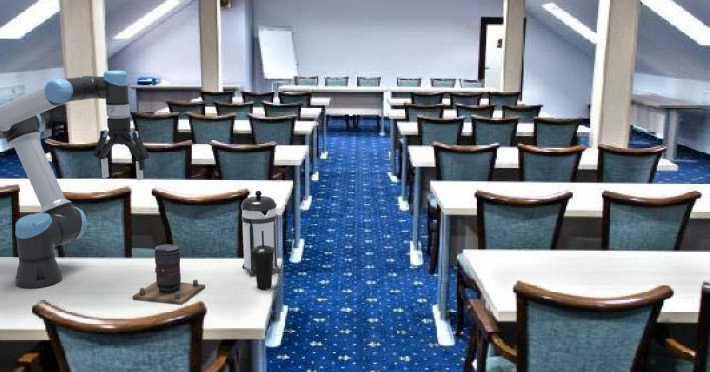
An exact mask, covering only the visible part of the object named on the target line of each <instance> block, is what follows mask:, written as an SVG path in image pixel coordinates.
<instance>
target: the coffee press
mask: <svg viewBox="0 0 710 372" xmlns="http://www.w3.org/2000/svg"><path fill="white" fill-rule="evenodd" d="M254 195H255V196H250V197H247V198H245V199H243V201H242V203H241V204H240V209H241V212H242V214H241V221H242V239H243V240H242V244H243V245H242V246H243V262H244V263H243V264H242V266H241V267H242V269H243V270H245V269H247V270H250V272H249V276H250V277H256V273H255V266H254V258H253V252H252V249H253V248H255V247H257V246H260V245H262V231H264V245H267V246H270V247H273V248H274V249H275V250H274V255H273V272H274V273H276V274H278V273H280V272H281V268H280V267H279V266H278V246H277V245H278V244H277V243H278V242H277V239H278V238H277V211H276V209H277V206H278V205H277V203H276V201H275V199H274V198H272V197H270V196H267V195H266V196H265V195H262V192H261V191H260V190H256V191H255V193H254Z"/></svg>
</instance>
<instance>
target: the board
mask: <svg viewBox="0 0 710 372" xmlns="http://www.w3.org/2000/svg"><path fill="white" fill-rule="evenodd" d="M205 289H206V284H203V283H202V284H200V283H199V282H198V279H193V280H192V282H181V283H180V289H179V290H178V291H177V292H174V293H161V292H159V288H158V286H157V281H155V282H152V283H151V284H150V285H148V286H146V287H140V288H139V291H138V292H136V293H135V294H133V295H132V300H133V301H134V300H135V301H142V302H152V303H163V304H171V305H183V304H185V303H186V302H187V301H189V300H190V299H192V298H194V297H195V296H196V295H198V294H199V293H201V292H202V291H203V290H205Z"/></svg>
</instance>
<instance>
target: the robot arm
mask: <svg viewBox="0 0 710 372" xmlns="http://www.w3.org/2000/svg"><path fill="white" fill-rule="evenodd" d="M91 99H94V100H95V99H96V100H97V99H101V100H102V99H103V100H104V101H105V113H106V116H107V117H108V118H106V125H107V126H106V127H107V129H108V130H106V129H103V130H100V131H99V139H98V142H97V144H96V145H95V146H96V147H95V150H94V151H93V157H94V158H97V159H98V160H99V164H98V165H99V168H100V169H101V178H102V179H106V178H108V177H109V178H110V172H109V163H108V162H109V161H108V160H109V159H108V158H107V156H108V154H109V153H110V151H111V150H112V148H113V147H114V146H115V145H121V146H123V145H124V146H125V147H127V149H129V151H130V152H131V154H133V156H134V157H135V158H136V160H135V168H136V180H137V181H141V180H143V179H144V170H145V169H146V168H145V167H146V166H145V165H146V164H145V160H147V159H149V158H150V154H149V152H148V151H147V148H146V147H145V145H144V143H143V140H142V139H141V134H140V131H134V132H133V131H131V128H132V126H131V117H130V116H131V112H130V111H131V110H130V102H129V101H130V98H129V81H128V74H127V72H126V71H124V70H106V71H103V76H95V75H80V76H77V77H65V78H60V77H59V78H56V79H51V80H49V81H47V82H46V85H45V84H44V86H42V87H40V88H37V89H35V90H32V91H31V92H28V93H26V94H24V95H21V96H19V97H16V98H14V99H11V100H10V101H7V102H5V103H3V104H0V140H1V139H5V141H6V142H7V145H8V146H9V147H12V148H14V149H15V152H16V154H17V156H18V158H19V161H20V162H21V165H22V167H23V169H24V171H25V174H26V176H27V178H28V180H29V182H30V185H31V187H32V190H33V191H34V194H35V196H36V198H37V200H38V203H39V204H40V207H41V209H40V212H35V213H33V214H28V215H24V216H23V217H21V218H19V219H18V220H17V221H16V222H15V238H16V245H17V253H18V254H17V255H18V265H17V266H18V267H17V270H16V275H15V285H16V286H17V287H19V288H22V289H38V288H44V287H45V288H46V287H49V286H52V285H55V284H58V283H59V282H61V281H62V280H63V272H62V270H61V269H60V266H59V263H58V261H57V258H56V255H55V247H59V246H61V245H65V244H67V243H71V242H74V241H75V240H77V239H80V238H81V237H83V235H84V234H85V232H86V229H87V226H88V221H87V220H88V219H87V216H86V214H85V213H84V211H83V210H82V209H80V207H76V206H74V204H73V202H72V201H71V200H68V199H67V198H66V197H65V195H64V193H63V190H62V188H61V187H60V184H59V182H58V179H57V178H56V175H55V173H54V171H53V168H52V167H51V164H50V162H49V160H48V158H47V155H46V153H45V151H44V148H43V146H42V144H41V142H40V136H41V131H40V130H41V128H42V117H41V114H42V113H45V112H46V111H50V110H51V109H54V108H56V107H59V106H61V105H65V104H66V103H69V102H75V101H81V100H82V101H83V100H91ZM108 137H109V139H108V140H107V138H108ZM106 141H107V143H106ZM105 144H106V145H105Z"/></svg>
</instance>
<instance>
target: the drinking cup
mask: <svg viewBox="0 0 710 372" xmlns="http://www.w3.org/2000/svg"><path fill="white" fill-rule="evenodd" d="M274 250H275V249H274V248H273V247H270V246H267V245H264V231H262V245H260V246H257V247H255V248H253V249H252V252H253V258H254V266H255V278H256V279H255V281H256V287H257V289H258V290H260V291H266V290H267V291H268V290H269V289H271V288H272V284H273V283H272V281H273V272H274V270H273V255H274Z"/></svg>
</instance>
